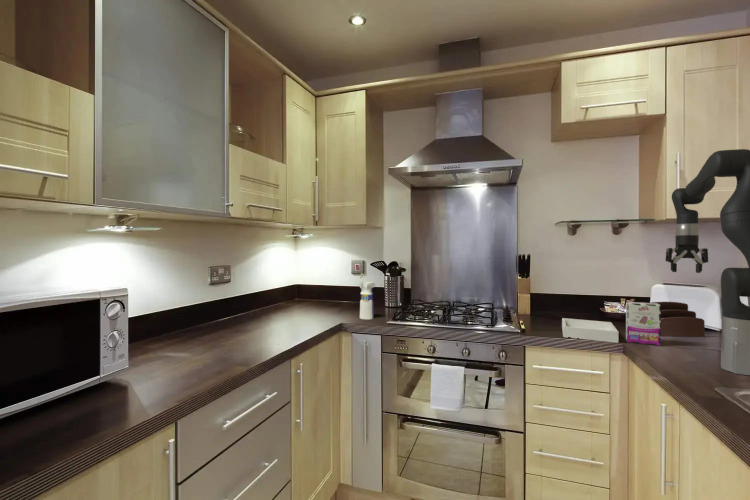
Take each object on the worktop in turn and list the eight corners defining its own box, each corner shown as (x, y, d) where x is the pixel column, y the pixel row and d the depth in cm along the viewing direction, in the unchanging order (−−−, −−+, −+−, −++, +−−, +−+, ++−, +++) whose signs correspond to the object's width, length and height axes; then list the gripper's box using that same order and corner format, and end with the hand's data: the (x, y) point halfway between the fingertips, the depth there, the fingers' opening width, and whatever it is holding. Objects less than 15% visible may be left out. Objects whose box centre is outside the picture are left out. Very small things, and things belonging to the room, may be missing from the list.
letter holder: (642, 331, 169) (643, 301, 168) (686, 331, 168) (686, 301, 168) (658, 336, 159) (659, 304, 158) (705, 337, 158) (705, 305, 158)
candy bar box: (657, 342, 148) (658, 303, 148) (660, 346, 144) (661, 305, 144) (624, 339, 154) (625, 301, 153) (626, 342, 149) (627, 302, 149)
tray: (618, 342, 148) (618, 331, 148) (563, 337, 157) (563, 326, 157) (610, 331, 166) (611, 322, 166) (562, 327, 175) (562, 318, 175)
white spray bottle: (372, 320, 189) (373, 272, 189) (357, 319, 191) (357, 272, 191) (376, 316, 197) (376, 271, 197) (361, 316, 199) (361, 270, 199)
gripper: (671, 234, 153) (671, 272, 153) (712, 234, 149) (711, 273, 149) (662, 234, 160) (662, 271, 160) (701, 234, 156) (701, 272, 156)
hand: (686, 272), depth 155 cm, fingers open, 8 cm apart
